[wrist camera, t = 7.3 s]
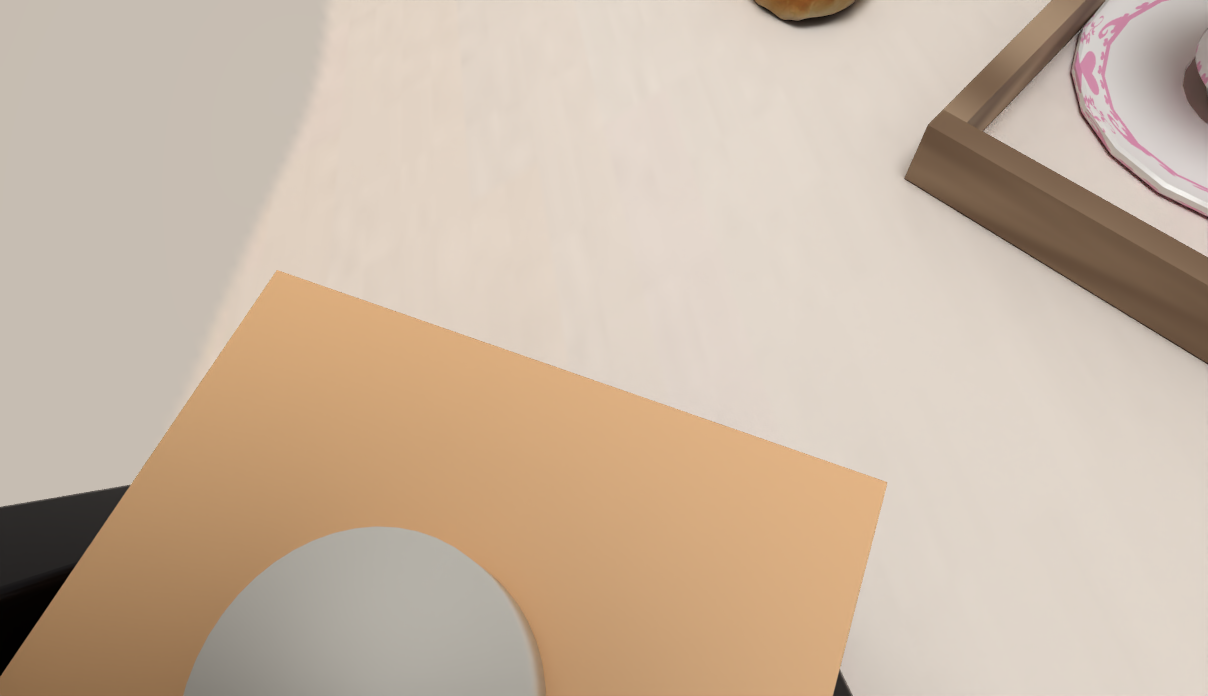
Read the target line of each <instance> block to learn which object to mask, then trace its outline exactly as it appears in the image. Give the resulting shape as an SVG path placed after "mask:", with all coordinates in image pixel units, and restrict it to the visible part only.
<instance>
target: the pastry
mask: <svg viewBox="0 0 1208 696" xmlns="http://www.w3.org/2000/svg"><path fill="white" fill-rule="evenodd" d="M854 1H855V0H755V2H756V3H757V4H758V5H761V6H763V7H765V8H767V9H768V10H770V11H771V12H773V13H774V14H775V15H776V16H778V17H779V18H781V19H783V20H787V19H788V20H796V21H799V20H802V19H806V18H810V17H820V16H826V15H831V14H834V13H836V12H839V11H841V10H843V9H845V8H846V7H848V6H850V5H851V4H853V3H854Z"/></svg>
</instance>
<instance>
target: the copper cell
mask: <svg viewBox="0 0 1208 696" xmlns="http://www.w3.org/2000/svg"><path fill="white" fill-rule="evenodd" d="M886 486H887V482H885V481H882V480H879V479H876V478H874V477H871V476H868V475H865V474H862V473H859V472H856V471H853V470H851V469H848V468H845V467H842V466H839V465H836V464H833V463H830V462H828V461H825V460H822V459H819V458H816V457H813V456H810V455H807V454H805V453H802V452H799V451H796V450H793V449H790V448H787V447H784V446H782V445H779V444H776V443H773V442H770V441H767V440H764V439H761V438H758V437H756V436H753V435H750V434H747V433H744V432H741V431H738V430H735V429H733V428H730V427H727V426H724V425H721V424H718V423H715V422H712V421H710V420H707V419H704V418H701V417H698V416H695V415H692V414H689V413H687V412H684V411H681V410H678V409H675V408H672V407H669V406H666V405H664V404H661V403H658V402H655V401H652V400H649V399H646V398H643V397H641V396H638V395H635V394H632V393H629V392H626V391H623V390H620V389H617V388H615V387H612V386H609V385H606V384H603V383H600V382H597V381H594V380H592V379H589V378H586V377H583V376H580V375H577V374H574V373H571V372H569V371H566V370H563V369H560V368H557V367H554V366H551V365H548V364H546V363H543V362H540V361H537V360H534V359H531V358H528V357H525V356H523V355H520V354H517V353H514V352H511V351H508V350H505V349H502V348H500V347H497V346H494V345H491V344H488V343H485V342H482V341H479V340H477V339H474V338H471V337H468V336H465V335H462V334H459V333H456V332H453V331H451V330H448V329H445V328H442V327H439V326H436V325H433V324H430V323H428V322H425V321H422V320H419V319H416V318H413V317H410V316H407V315H405V314H402V313H399V312H396V311H393V310H390V309H387V308H384V307H382V306H379V305H376V304H373V303H370V302H367V301H364V300H361V299H359V298H356V297H353V296H350V295H347V294H344V293H341V292H338V291H336V290H333V289H330V288H327V287H324V286H321V285H318V284H315V283H312V282H310V281H307V280H304V279H301V278H298V277H295V276H292V275H289V274H287V273H284V272H281V271H278V270H277V271H276V272H275V274H274V275H273V277H272V278H271V280H270V281H269V282H268V284H267V285H266V287H265V288H264V290H263V291H262V293H261V294H260V296H259V297H258V299H257V300H256V302H255V303H254V305H253V306H252V307H251V309H250V310H249V312H248V313H247V315H246V316H245V318H244V319H243V321H242V322H241V324H240V325H239V327H238V328H237V330H236V331H235V332H234V334H233V335H232V337H231V338H230V340H229V341H228V343H227V344H226V346H225V347H224V349H223V350H222V352H221V353H220V354H219V356H218V357H217V359H216V360H215V362H214V363H213V365H212V366H211V368H210V369H209V371H208V372H207V374H206V375H205V377H204V378H203V379H202V381H201V382H200V384H199V385H198V387H197V388H196V390H195V391H194V393H193V394H192V396H191V397H190V399H189V400H188V402H187V403H186V404H185V406H184V407H183V409H182V410H181V412H180V413H179V415H178V416H177V418H176V419H175V421H174V422H173V424H172V425H171V426H170V428H169V429H168V431H167V432H166V434H165V435H164V437H163V438H162V440H161V441H160V443H159V444H158V446H157V447H156V449H155V450H154V451H153V453H152V454H151V456H150V457H149V459H148V460H147V462H146V463H145V465H144V466H143V468H142V469H141V471H140V472H139V474H138V475H137V476H136V478H135V479H134V481H133V483H132V484H131V485H130V487H129V488H128V490H127V491H126V493H125V494H124V496H123V497H122V499H121V500H120V501H119V503H118V504H117V506H116V507H115V509H114V510H113V512H112V513H111V515H110V516H109V518H108V519H107V521H106V522H105V523H104V525H103V526H102V528H101V529H100V531H99V532H98V534H97V535H96V537H95V538H94V540H93V541H92V543H91V544H90V546H89V547H88V548H87V550H86V551H85V553H84V554H83V556H82V557H81V559H80V560H79V562H78V563H77V565H76V566H75V568H74V569H73V571H72V572H71V573H70V575H69V576H68V578H67V579H66V581H65V582H64V584H63V585H62V587H61V588H60V590H59V591H58V593H57V594H56V595H55V597H54V598H53V600H52V601H51V603H50V604H49V606H48V607H47V609H46V610H45V612H44V613H43V615H42V616H41V618H40V619H39V620H38V622H37V623H36V625H35V626H34V628H33V629H32V631H31V632H30V634H29V635H28V637H27V638H26V640H25V641H24V643H23V644H22V645H21V647H20V648H19V650H18V651H17V653H16V654H15V656H14V657H13V659H12V660H11V662H10V663H9V665H8V666H7V667H6V669H5V670H4V672H3V673H2V675H1V676H0V696H833V693H834V689H835V685H836V681H837V677H838V673H839V669H840V666H841V662H842V658H843V654H844V650H845V646H846V642H847V638H848V634H849V630H850V627H851V623H852V619H853V615H854V611H855V607H856V603H857V599H858V595H859V591H860V588H861V584H862V580H863V576H864V572H865V568H866V564H867V560H868V556H869V552H870V549H871V545H872V541H873V537H874V533H875V529H876V525H877V521H878V517H879V513H880V510H881V506H882V502H883V498H884V494H885V490H886Z"/></svg>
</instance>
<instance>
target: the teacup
mask: <svg viewBox="0 0 1208 696" xmlns="http://www.w3.org/2000/svg"><path fill="white" fill-rule="evenodd" d="M1194 58H1195V61H1196V65H1197V70H1198V72H1199V75H1200V77H1201V79H1202V81H1203V83H1204V84H1205V86H1206V87H1207V88H1206V94H1207V98H1208V0H1105V2H1104V3H1103V4H1102V5H1101V7H1100V8H1099V9H1098V10H1097V11H1096V13H1095V14H1094V15H1093V16H1092V18H1091V19H1090V20H1089V21H1088V23H1087V24H1086V25H1085V26H1084V27H1083V29H1082V31H1081V32H1080V34H1079V38H1078V43H1077V47H1076V52H1075V56H1074V61H1073V65H1072V70H1071V72H1072V76H1073V80H1074V84H1075V88H1076V92H1077V96H1078V100H1079V104H1080V108H1081V112H1082V114H1083V115H1084V117H1085V118H1086V119H1087V121H1088V122H1089V124H1090V125H1091V127H1092V128H1093V129H1094V131H1095V132H1096V134H1097V135H1098V137H1099V138H1100V139H1101V141H1102V142H1103V144H1104V145H1105V147H1106V148H1107V149H1108V151H1109V152H1110V154H1111V155H1112V156H1114V157H1115V158H1116V159H1117V160H1119V161H1120V162H1121V163H1122V164H1124V165H1125V166H1126V167H1127V168H1128V169H1130V170H1131V171H1132V172H1133V173H1135V174H1136V175H1137V176H1138V177H1140V178H1141V179H1142V180H1143V181H1144V182H1146V183H1147V184H1148V185H1149V186H1151V187H1152V188H1153V189H1154V190H1156V191H1157V192H1158V193H1160V194H1162V195H1164V196H1166V197H1168V198H1170V199H1172V200H1174V201H1176V202H1179V203H1181V204H1183V205H1185V206H1187V207H1189V208H1191V209H1193V210H1195V211H1197V212H1199V213H1201V214H1203V215H1205V216H1207V217H1208V124H1207V123H1206V122H1205V121H1203V120H1202V119H1201V118H1200V117H1199V116H1198V114H1197V113H1196V112H1195V111H1194V109H1193V108H1192V107H1191V105H1190V104H1189V103H1188V100H1187V97H1186V94H1185V91H1184V88H1183V83H1184V76H1185V71H1186V69H1187V68H1188V67H1189V65H1190V64H1191V62H1192V61H1193V60H1194Z"/></svg>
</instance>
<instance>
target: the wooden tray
mask: <svg viewBox="0 0 1208 696" xmlns="http://www.w3.org/2000/svg"><path fill="white" fill-rule="evenodd" d="M1104 2H1105V0H1052V1H1051V2H1050V3H1049V4H1048V5H1047V6H1046V7H1045V8H1044V9H1043V10H1042V11H1041V12H1040V13H1039V14H1038V15H1037V16H1036V17H1035V18H1034V19H1033V20H1032V21H1031V22H1030V23H1029V24H1028V25H1027V26H1026V27H1025V28H1024V29H1023V30H1022V31H1021V32H1020V33H1019V34H1018V35H1017V36H1016V37H1015V38H1014V39H1013V40H1012V41H1011V42H1010V43H1009V44H1008V45H1007V46H1006V47H1005V48H1004V49H1003V50H1002V51H1001V52H1000V53H999V54H998V55H997V56H996V57H995V58H994V59H993V60H992V61H991V62H990V63H989V64H988V65H987V66H986V67H985V68H984V69H983V70H982V71H981V72H980V73H979V74H978V75H977V76H976V77H975V78H974V79H973V80H972V81H971V82H970V83H969V84H968V85H967V86H966V87H965V88H964V89H963V90H962V91H961V92H960V93H959V94H958V95H957V96H956V97H955V98H954V99H953V100H952V101H951V102H950V103H949V104H948V105H947V106H946V107H945V108H944V109H943V110H942V111H941V112H940V113H939V114H938V115H937V116H936V117H935V118H934V119H933V120H932V121H931V122H930V123H929V124H928V126H927V128H926V131H925V133H924V135H923V137H922V140H921V142H920V144H919V146H918V149H917V151H916V153H915V156H914V158H913V160H912V162H911V165H910V167H909V169H908V171H907V174H906V176H905V179H907V180H908V181H910V182H911V183H913V184H915V185H916V186H918V187H920V188H921V189H923V190H925V191H926V192H928V193H929V194H931V195H933V196H934V197H936V198H938V199H939V200H941V201H943V202H944V203H946V204H947V205H949V206H951V207H952V208H954V209H956V210H957V211H959V212H961V213H962V214H964V215H965V216H967V217H969V218H970V219H972V220H974V221H975V222H977V223H979V224H980V225H982V226H983V227H985V228H987V229H988V230H990V231H992V232H993V233H995V234H997V235H998V236H1000V237H1001V238H1003V239H1005V240H1006V241H1008V242H1010V243H1011V244H1013V245H1015V246H1016V247H1018V248H1019V249H1021V250H1023V251H1024V252H1026V253H1028V254H1029V255H1031V256H1033V257H1034V258H1036V259H1037V260H1039V261H1041V262H1042V263H1044V264H1046V265H1047V266H1049V267H1051V268H1052V269H1054V270H1056V271H1057V272H1059V273H1060V274H1062V275H1064V276H1065V277H1067V278H1069V279H1070V280H1072V281H1074V282H1075V283H1077V284H1078V285H1080V286H1082V287H1083V288H1085V289H1087V290H1088V291H1090V292H1092V293H1093V294H1095V295H1096V296H1098V297H1100V298H1101V299H1103V300H1105V301H1106V302H1108V303H1110V304H1111V305H1113V306H1114V307H1116V308H1118V309H1119V310H1121V311H1123V312H1124V313H1126V314H1128V315H1129V316H1131V317H1132V318H1134V319H1136V320H1137V321H1139V322H1141V323H1142V324H1144V325H1146V326H1147V327H1149V328H1150V329H1152V330H1154V331H1155V332H1157V333H1159V334H1160V335H1162V336H1164V337H1165V338H1167V339H1168V340H1170V341H1172V342H1173V343H1175V344H1177V345H1178V346H1180V347H1182V348H1183V349H1185V350H1186V351H1188V352H1190V353H1191V354H1193V355H1195V356H1196V357H1198V358H1200V359H1201V360H1203V361H1205V362H1206V363H1208V257H1206V256H1204V255H1202V254H1201V253H1199V252H1197V251H1195V250H1194V249H1192V248H1190V247H1188V246H1186V245H1185V244H1183V243H1181V242H1179V241H1177V240H1176V239H1174V238H1172V237H1170V236H1169V235H1167V234H1165V233H1163V232H1161V231H1160V230H1158V229H1156V228H1154V227H1152V226H1151V225H1149V224H1147V223H1145V222H1144V221H1142V220H1140V219H1138V218H1136V217H1135V216H1133V215H1131V214H1129V213H1127V212H1126V211H1124V210H1122V209H1120V208H1119V207H1117V206H1115V205H1113V204H1111V203H1110V202H1108V201H1106V200H1104V199H1102V198H1101V197H1099V196H1097V195H1095V194H1094V193H1092V192H1090V191H1088V190H1086V189H1085V188H1083V187H1081V186H1079V185H1077V184H1076V183H1074V182H1072V181H1070V180H1068V179H1067V178H1065V177H1063V176H1061V175H1060V174H1058V173H1056V172H1054V171H1052V170H1051V169H1049V168H1047V167H1045V166H1043V165H1042V164H1040V163H1038V162H1036V161H1035V160H1033V159H1031V158H1029V157H1027V156H1026V155H1024V154H1022V153H1020V152H1018V151H1017V150H1015V149H1013V148H1011V147H1010V146H1008V145H1006V144H1004V143H1002V142H1001V141H999V140H997V139H995V138H993V137H992V136H990V135H988V134H986V133H985V132H983V130H984V129H985V128H986V127H987V126H988V125H989V124H990V123H991V122H992V121H993V120H994V119H995V118H996V117H997V116H998V115H999V114H1000V113H1001V112H1002V111H1003V110H1004V108H1005V107H1006V106H1007V105H1008V104H1009V103H1010V102H1011V101H1012V100H1013V99H1014V98H1015V97H1016V96H1017V95H1018V94H1019V93H1020V92H1021V91H1022V90H1023V89H1024V88H1025V87H1026V85H1027V84H1028V83H1029V82H1030V81H1031V80H1032V79H1033V78H1034V77H1035V76H1036V75H1037V74H1038V73H1039V72H1040V71H1041V70H1042V69H1043V68H1044V67H1045V66H1046V65H1047V64H1048V63H1049V61H1050V60H1051V59H1052V58H1053V57H1054V56H1055V55H1056V54H1057V53H1058V52H1059V51H1060V50H1061V49H1062V48H1063V47H1064V46H1065V45H1066V44H1067V43H1068V42H1069V41H1070V40H1071V38H1072V37H1073V36H1074V35H1075V34H1076V33H1077V32H1078V31H1079V30H1080V29H1081V28H1082V27H1083V26H1084V25H1085V24H1086V23H1087V22H1088V21H1089V20H1090V19H1091V18H1092V16H1093V15H1094V14H1095V13H1096V11H1097V10H1098V9H1099V8H1100V7H1101V5H1102V4H1103V3H1104Z"/></svg>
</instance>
